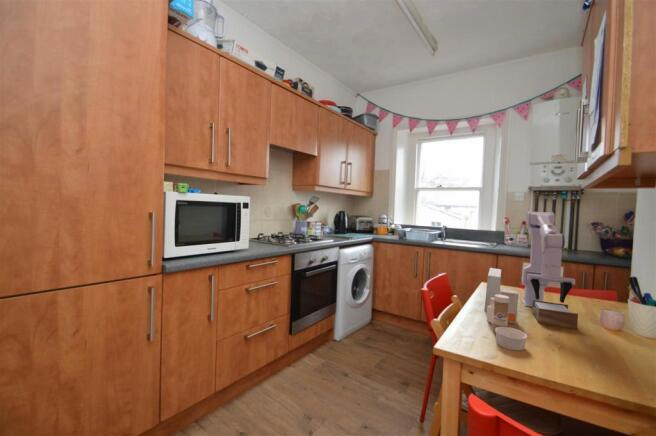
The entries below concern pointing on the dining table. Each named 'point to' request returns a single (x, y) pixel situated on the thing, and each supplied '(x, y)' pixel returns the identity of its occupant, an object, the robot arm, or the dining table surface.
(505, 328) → the ramekin
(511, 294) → the skincare box
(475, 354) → the dining table surface
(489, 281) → the skincare box
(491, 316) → the salt shaker
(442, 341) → the dining table surface
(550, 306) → the lid
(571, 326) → the case
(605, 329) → the dining table surface
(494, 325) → the sprinkles bottle
